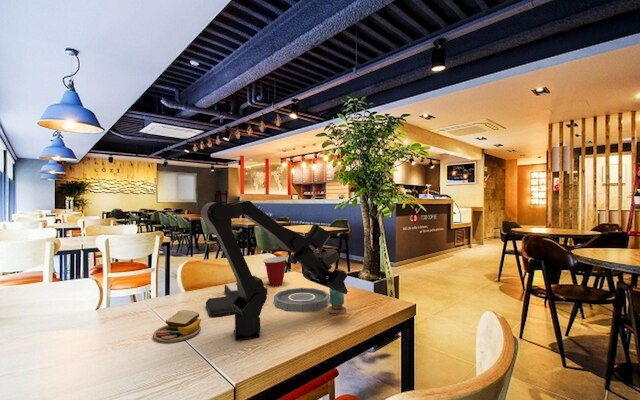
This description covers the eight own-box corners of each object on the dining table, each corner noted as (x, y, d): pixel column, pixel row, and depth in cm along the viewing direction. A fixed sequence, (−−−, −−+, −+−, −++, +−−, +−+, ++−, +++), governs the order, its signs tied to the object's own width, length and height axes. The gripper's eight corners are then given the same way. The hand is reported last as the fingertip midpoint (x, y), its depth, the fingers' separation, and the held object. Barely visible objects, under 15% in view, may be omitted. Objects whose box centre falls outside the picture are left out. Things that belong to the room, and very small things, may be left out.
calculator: (268, 286, 130) (230, 289, 123) (267, 297, 130) (229, 300, 123) (260, 280, 140) (224, 282, 133) (259, 290, 140) (224, 293, 133)
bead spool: (331, 316, 105) (331, 276, 105) (325, 310, 111) (325, 272, 111) (348, 313, 107) (348, 274, 107) (341, 308, 113) (341, 271, 113)
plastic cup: (261, 283, 148) (261, 256, 148) (284, 281, 151) (284, 255, 151) (264, 289, 137) (264, 261, 137) (289, 287, 141) (289, 259, 141)
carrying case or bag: (243, 314, 109) (234, 301, 122) (243, 305, 109) (234, 293, 122) (210, 319, 104) (205, 306, 117) (209, 310, 104) (204, 297, 117)
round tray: (281, 314, 107) (280, 306, 107) (270, 297, 126) (270, 290, 126) (336, 307, 114) (336, 300, 114) (318, 292, 132) (318, 286, 132)
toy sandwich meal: (142, 339, 89) (142, 322, 89) (180, 322, 101) (180, 307, 101) (176, 347, 84) (176, 329, 84) (212, 328, 97) (212, 312, 97)
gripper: (342, 245, 99) (369, 275, 105) (309, 239, 114) (335, 266, 120) (321, 274, 94) (350, 304, 101) (290, 264, 110) (317, 290, 116)
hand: (338, 289), depth 109 cm, fingers open, 9 cm apart
